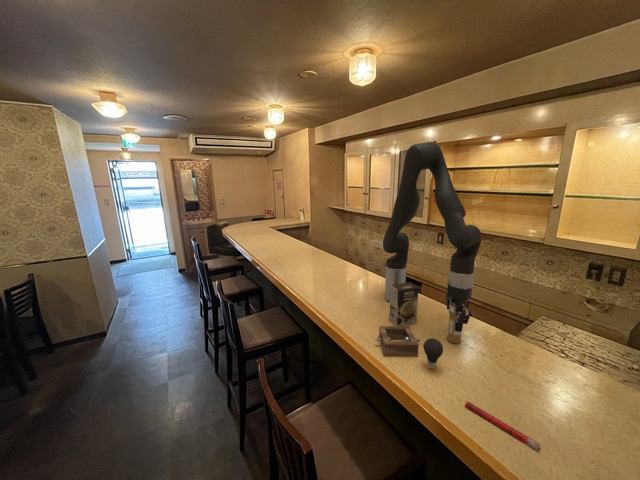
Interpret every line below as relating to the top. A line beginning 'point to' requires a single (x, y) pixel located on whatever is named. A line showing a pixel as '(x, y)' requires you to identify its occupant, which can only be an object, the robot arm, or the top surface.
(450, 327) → the sprinkles bottle
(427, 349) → the light bulb
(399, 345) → the brown wooden square frame
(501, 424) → the flare
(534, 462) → the top surface
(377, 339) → the plunger
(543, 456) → the top surface
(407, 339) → the plunger
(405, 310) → the coffee box
